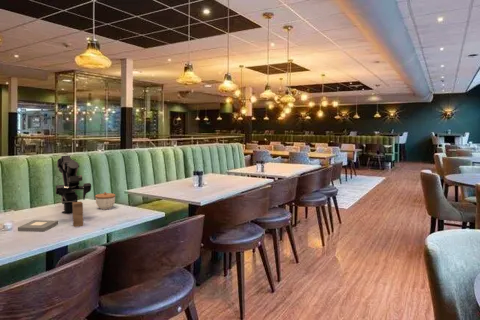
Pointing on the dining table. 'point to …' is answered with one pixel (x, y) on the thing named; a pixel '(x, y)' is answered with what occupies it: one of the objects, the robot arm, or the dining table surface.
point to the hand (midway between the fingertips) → (75, 200)
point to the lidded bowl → (105, 200)
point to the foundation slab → (38, 225)
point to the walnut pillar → (77, 214)
